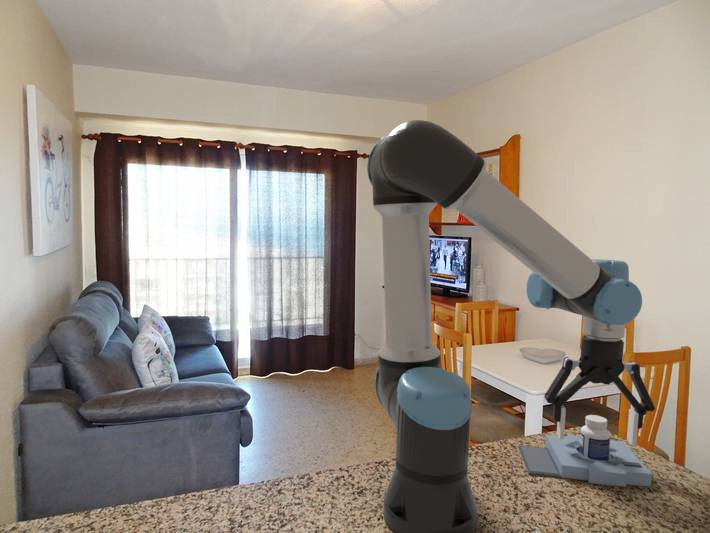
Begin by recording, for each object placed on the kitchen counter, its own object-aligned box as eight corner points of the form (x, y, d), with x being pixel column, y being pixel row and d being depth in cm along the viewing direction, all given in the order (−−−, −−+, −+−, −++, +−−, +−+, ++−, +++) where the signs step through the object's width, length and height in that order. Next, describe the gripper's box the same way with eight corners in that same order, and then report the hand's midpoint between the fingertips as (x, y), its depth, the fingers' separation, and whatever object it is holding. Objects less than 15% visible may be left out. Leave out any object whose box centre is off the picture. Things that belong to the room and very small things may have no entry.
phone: (560, 480, 94) (561, 475, 94) (528, 477, 95) (528, 471, 95) (546, 452, 106) (547, 447, 106) (518, 449, 107) (518, 444, 107)
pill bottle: (613, 467, 99) (617, 420, 98) (597, 473, 96) (600, 425, 95) (589, 456, 103) (592, 411, 103) (573, 461, 101) (576, 416, 100)
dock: (562, 480, 93) (563, 466, 93) (544, 443, 109) (544, 431, 109) (653, 489, 91) (654, 475, 90) (621, 450, 106) (621, 438, 106)
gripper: (541, 337, 96) (535, 441, 98) (680, 345, 92) (670, 454, 94) (533, 329, 103) (528, 426, 105) (661, 336, 99) (653, 437, 101)
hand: (595, 439), depth 99 cm, fingers open, 13 cm apart
